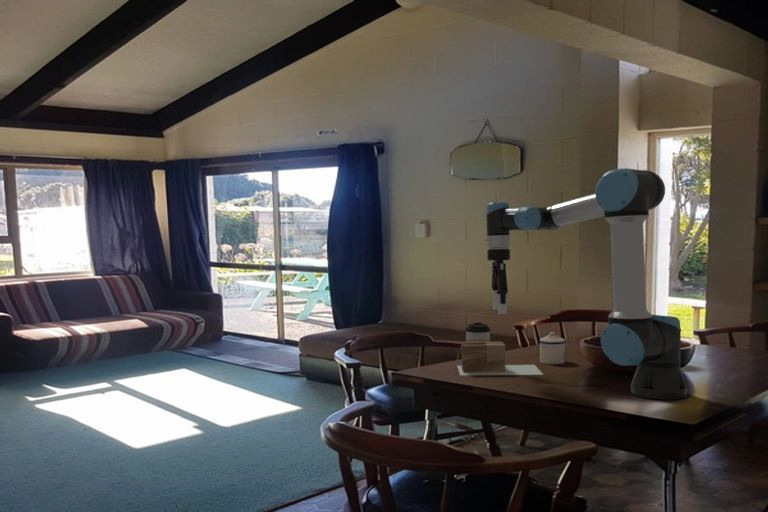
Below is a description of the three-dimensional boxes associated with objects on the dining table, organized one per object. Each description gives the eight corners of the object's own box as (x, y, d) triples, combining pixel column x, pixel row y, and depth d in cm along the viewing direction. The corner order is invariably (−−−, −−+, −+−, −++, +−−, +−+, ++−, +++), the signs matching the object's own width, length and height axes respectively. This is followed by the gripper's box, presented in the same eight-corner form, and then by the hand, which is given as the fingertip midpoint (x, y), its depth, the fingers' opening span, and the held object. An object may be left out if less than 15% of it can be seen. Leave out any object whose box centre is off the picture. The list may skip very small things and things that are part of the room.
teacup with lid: (570, 366, 237) (570, 333, 236) (546, 368, 235) (545, 334, 235) (555, 360, 249) (554, 329, 248) (532, 361, 247) (531, 330, 246)
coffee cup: (490, 368, 237) (489, 325, 236) (464, 367, 238) (464, 325, 238) (491, 363, 245) (491, 322, 245) (466, 362, 247) (466, 322, 247)
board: (543, 378, 219) (543, 360, 219) (460, 378, 220) (460, 361, 220) (534, 368, 235) (534, 352, 235) (457, 368, 236) (456, 352, 236)
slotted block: (505, 372, 224) (505, 345, 224) (463, 372, 225) (462, 345, 224) (502, 367, 231) (502, 341, 231) (461, 368, 232) (461, 342, 231)
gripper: (482, 248, 239) (484, 307, 240) (492, 249, 214) (493, 316, 215) (504, 247, 239) (505, 307, 239) (515, 248, 214) (517, 315, 214)
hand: (499, 311), depth 227 cm, fingers open, 13 cm apart
